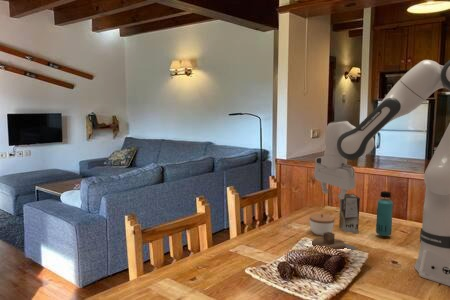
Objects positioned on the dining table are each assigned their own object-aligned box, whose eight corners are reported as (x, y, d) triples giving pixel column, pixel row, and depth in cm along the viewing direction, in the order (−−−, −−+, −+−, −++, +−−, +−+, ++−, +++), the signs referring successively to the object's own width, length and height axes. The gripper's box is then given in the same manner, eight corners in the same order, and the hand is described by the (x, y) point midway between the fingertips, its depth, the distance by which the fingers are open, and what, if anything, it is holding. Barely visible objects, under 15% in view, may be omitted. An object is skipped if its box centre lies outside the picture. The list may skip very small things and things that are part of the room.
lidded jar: (336, 233, 170) (337, 212, 169) (329, 240, 161) (330, 218, 160) (313, 229, 176) (314, 209, 175) (305, 235, 167) (306, 214, 166)
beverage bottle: (388, 234, 169) (391, 190, 166) (393, 239, 162) (396, 193, 160) (373, 234, 169) (375, 189, 167) (377, 239, 163) (380, 193, 160)
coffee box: (358, 233, 170) (360, 198, 168) (344, 233, 170) (345, 197, 168) (352, 227, 179) (353, 193, 177) (338, 226, 179) (339, 193, 177)
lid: (352, 248, 151) (353, 235, 150) (329, 254, 144) (329, 241, 143) (328, 238, 162) (328, 226, 161) (305, 243, 155) (305, 231, 155)
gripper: (360, 165, 142) (358, 201, 144) (324, 157, 160) (322, 189, 162) (347, 166, 139) (345, 203, 141) (312, 158, 157) (310, 190, 159)
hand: (332, 195), depth 152 cm, fingers open, 8 cm apart
